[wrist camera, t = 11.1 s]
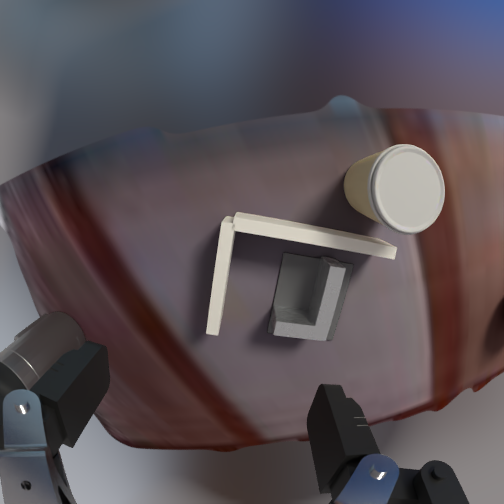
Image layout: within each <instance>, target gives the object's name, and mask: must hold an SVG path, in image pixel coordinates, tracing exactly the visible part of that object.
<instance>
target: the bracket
mask: <svg viewBox="0 0 504 504" xmlns="http://www.w3.org/2000/svg"><path fill="white" fill-rule="evenodd" d="M345 270H346V268H345V267H344V266H343V265H342V264H340V263H339V262H338V261H337V260H336V259H335V258H330V257H324V256H321V260H320V264H319V268H318V273H317V277H316V281H315V286H314V290H313V294H312V298H311V302H310V306H309V310H303V309H296V308H289V307H282V306H275V305H274V308H273V312H272V317H271V320H272V328H273V335H277V336H285V337H293V338H302V339H311V340H321V341H326V338H327V335H328V332H329V329H330V325H331V322H332V318H333V315H334V311H335V308H336V304H337V301H338V297H339V293H340V289H341V286H342V282H343V278H344V274H345Z"/></svg>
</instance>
